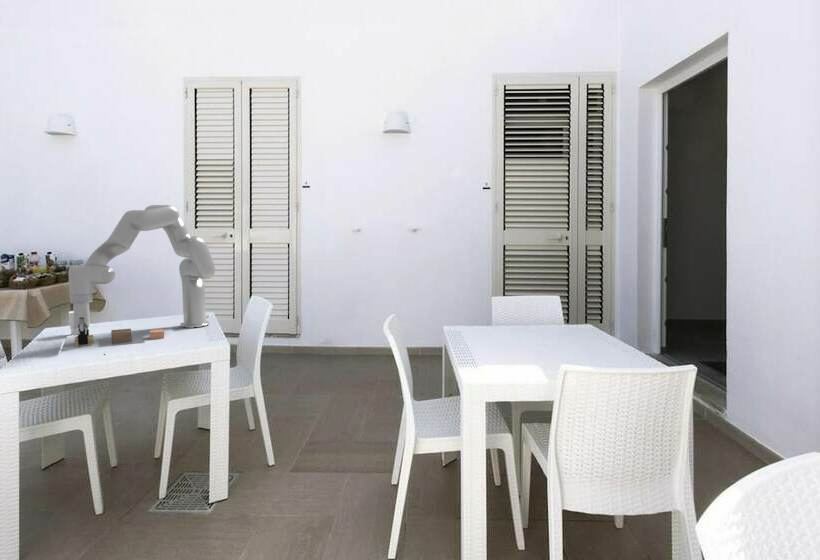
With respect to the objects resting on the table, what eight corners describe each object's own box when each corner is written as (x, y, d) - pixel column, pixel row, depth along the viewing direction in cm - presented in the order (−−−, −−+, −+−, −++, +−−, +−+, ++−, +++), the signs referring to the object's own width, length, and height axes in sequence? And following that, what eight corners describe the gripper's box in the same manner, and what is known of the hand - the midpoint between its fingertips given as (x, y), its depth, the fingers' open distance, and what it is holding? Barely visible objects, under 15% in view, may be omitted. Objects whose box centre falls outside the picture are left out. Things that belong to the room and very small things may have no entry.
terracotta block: (150, 339, 233) (149, 330, 233) (163, 338, 235) (162, 329, 235) (150, 342, 229) (150, 332, 228) (164, 340, 231) (163, 331, 230)
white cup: (66, 336, 238) (65, 313, 236) (74, 332, 245) (72, 310, 244) (87, 336, 239) (85, 312, 238) (93, 332, 247) (92, 309, 246)
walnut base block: (111, 339, 228) (111, 330, 227) (131, 338, 231) (130, 328, 230) (111, 343, 221) (111, 333, 221) (131, 341, 225) (131, 331, 224)
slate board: (99, 341, 230) (99, 338, 229) (143, 337, 237) (143, 334, 237) (98, 349, 215) (98, 346, 215) (144, 345, 223) (144, 342, 223)
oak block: (76, 346, 222) (75, 336, 221) (93, 344, 224) (93, 334, 224) (75, 349, 216) (74, 339, 216) (93, 347, 219) (92, 337, 219)
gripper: (71, 296, 224) (74, 338, 226) (68, 302, 209) (71, 347, 211) (93, 295, 227) (95, 336, 229) (91, 300, 212) (94, 345, 214)
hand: (83, 342), depth 220 cm, fingers open, 9 cm apart
